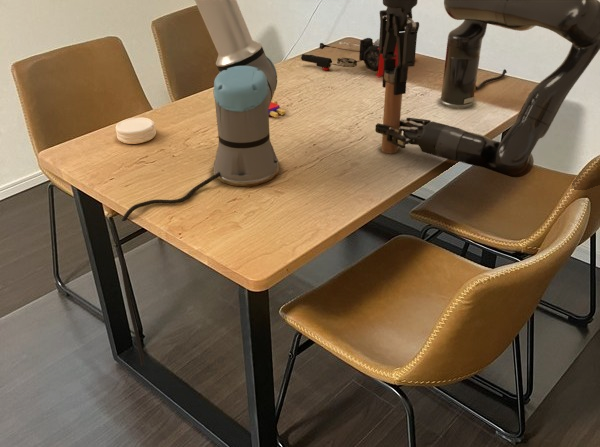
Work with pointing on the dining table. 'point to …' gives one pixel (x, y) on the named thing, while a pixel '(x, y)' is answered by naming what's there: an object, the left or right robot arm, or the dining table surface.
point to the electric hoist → (367, 54)
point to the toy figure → (275, 109)
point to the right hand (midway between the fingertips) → (381, 124)
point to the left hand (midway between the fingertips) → (393, 89)
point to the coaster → (135, 130)
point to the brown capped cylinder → (391, 115)
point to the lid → (390, 75)
